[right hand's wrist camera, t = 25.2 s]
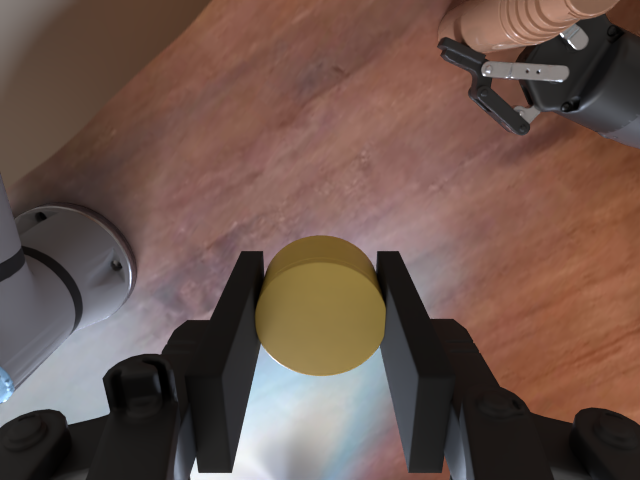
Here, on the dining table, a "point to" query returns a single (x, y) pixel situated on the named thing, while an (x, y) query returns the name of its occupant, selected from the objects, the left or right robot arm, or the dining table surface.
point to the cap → (320, 307)
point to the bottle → (515, 21)
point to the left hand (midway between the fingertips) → (457, 9)
